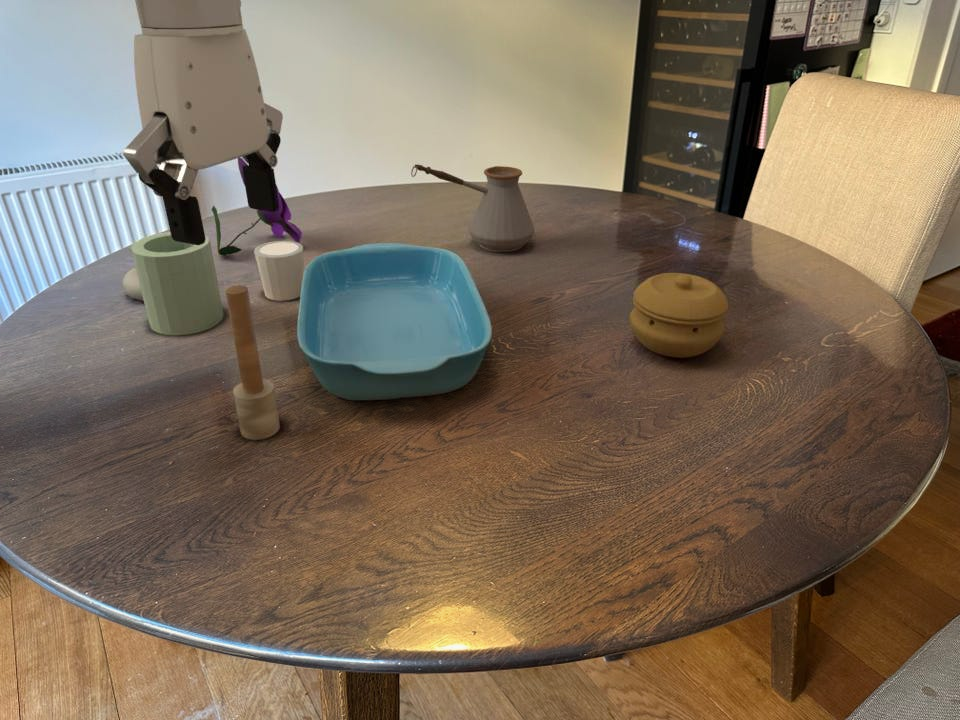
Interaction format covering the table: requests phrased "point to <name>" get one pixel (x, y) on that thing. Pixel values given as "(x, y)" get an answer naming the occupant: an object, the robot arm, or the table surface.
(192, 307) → the jar
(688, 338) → the pot
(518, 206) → the coffee pot
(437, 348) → the casserole dish
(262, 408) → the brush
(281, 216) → the flower
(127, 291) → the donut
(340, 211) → the table surface
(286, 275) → the white cup
